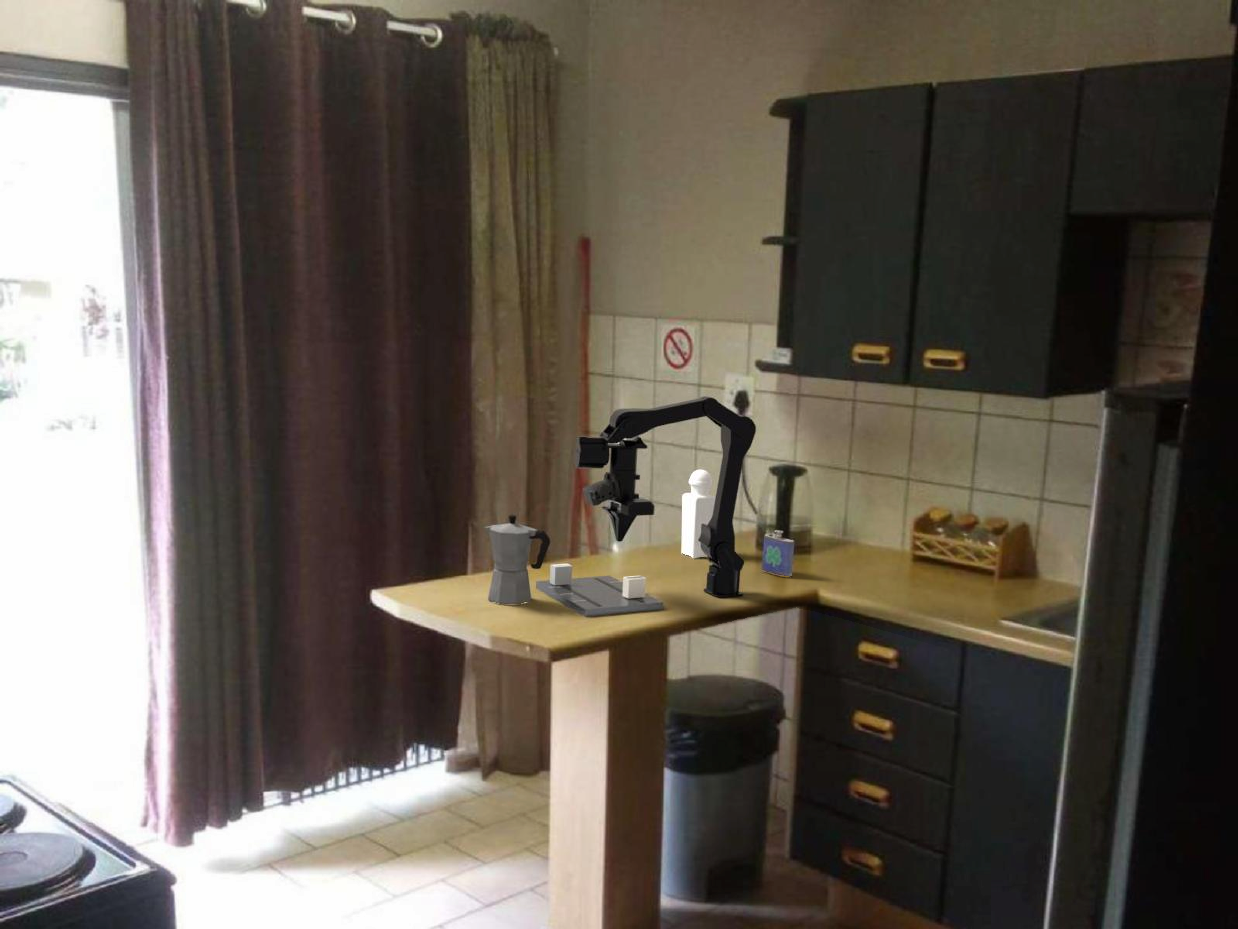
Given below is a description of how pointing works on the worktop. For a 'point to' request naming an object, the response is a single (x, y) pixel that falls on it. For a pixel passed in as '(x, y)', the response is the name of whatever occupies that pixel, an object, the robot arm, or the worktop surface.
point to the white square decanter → (696, 512)
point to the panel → (598, 596)
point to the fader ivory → (634, 586)
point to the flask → (777, 554)
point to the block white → (560, 574)
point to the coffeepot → (513, 560)
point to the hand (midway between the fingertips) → (619, 541)
